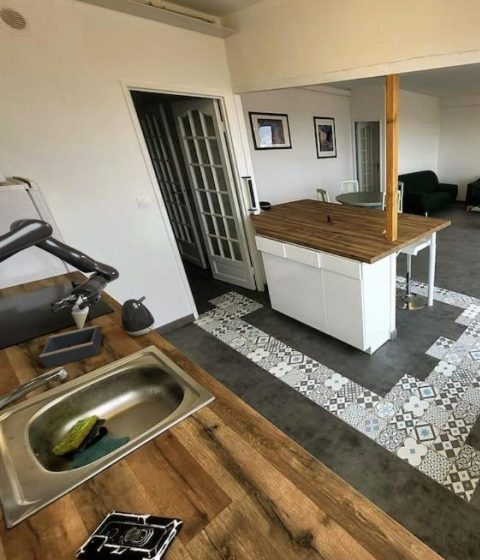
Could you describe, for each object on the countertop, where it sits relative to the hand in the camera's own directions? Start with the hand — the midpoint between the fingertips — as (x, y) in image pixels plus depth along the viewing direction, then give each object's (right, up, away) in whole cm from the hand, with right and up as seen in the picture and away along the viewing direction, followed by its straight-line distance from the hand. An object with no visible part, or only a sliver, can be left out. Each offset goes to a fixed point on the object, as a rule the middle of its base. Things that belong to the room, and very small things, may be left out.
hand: (66, 309), depth 121 cm
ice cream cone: (-1, -10, +6) cm, 12 cm away
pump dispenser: (+24, -10, +7) cm, 27 cm away
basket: (+9, -15, -5) cm, 18 cm away
